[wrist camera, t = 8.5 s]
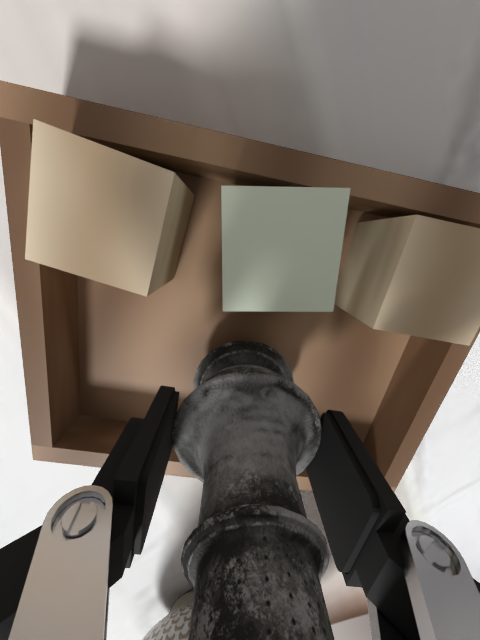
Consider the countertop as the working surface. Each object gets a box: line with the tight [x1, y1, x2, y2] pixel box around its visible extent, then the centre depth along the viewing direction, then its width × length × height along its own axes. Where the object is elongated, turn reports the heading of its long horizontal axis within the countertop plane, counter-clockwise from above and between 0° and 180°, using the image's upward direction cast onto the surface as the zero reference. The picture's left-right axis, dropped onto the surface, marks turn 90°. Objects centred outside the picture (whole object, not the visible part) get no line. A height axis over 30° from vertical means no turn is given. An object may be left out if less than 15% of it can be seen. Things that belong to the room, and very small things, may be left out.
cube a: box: [334, 215, 480, 346], centre depth 10 cm, size 4×4×4 cm
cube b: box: [221, 186, 350, 312], centre depth 10 cm, size 4×4×4 cm
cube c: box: [25, 119, 195, 297], centre depth 9 cm, size 4×4×4 cm
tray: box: [0, 81, 480, 492], centre depth 12 cm, size 20×16×3 cm
